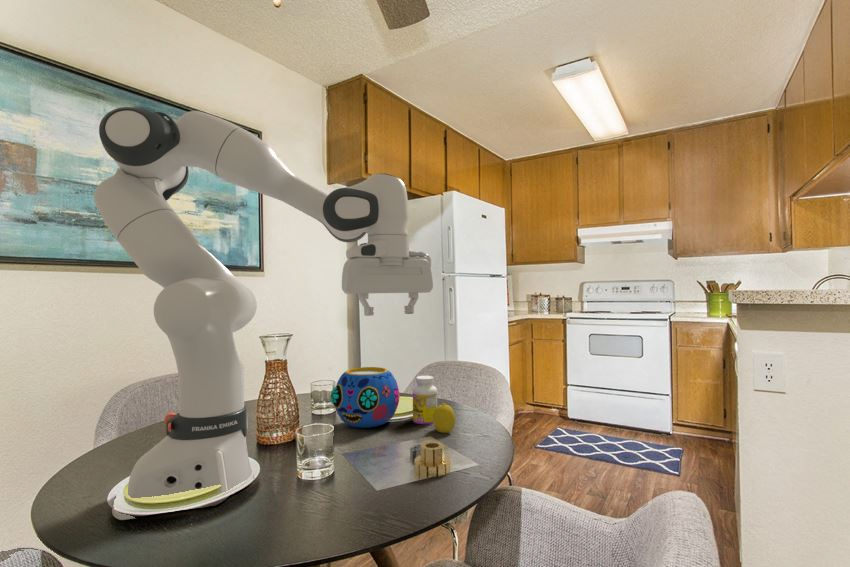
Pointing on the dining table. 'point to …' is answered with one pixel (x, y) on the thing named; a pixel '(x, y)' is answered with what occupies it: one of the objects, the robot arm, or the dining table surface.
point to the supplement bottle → (424, 400)
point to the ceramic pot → (366, 397)
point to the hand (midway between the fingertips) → (389, 314)
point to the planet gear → (432, 460)
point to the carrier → (398, 462)
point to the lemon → (444, 418)
